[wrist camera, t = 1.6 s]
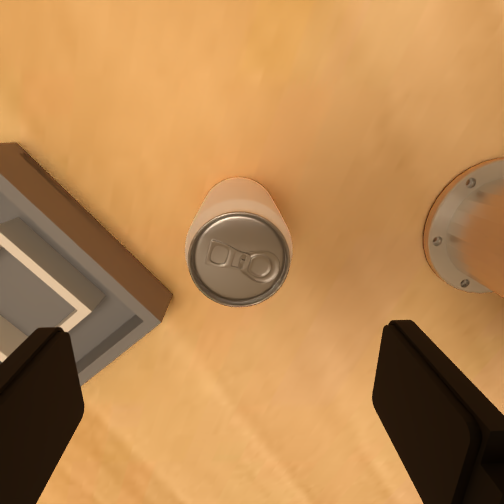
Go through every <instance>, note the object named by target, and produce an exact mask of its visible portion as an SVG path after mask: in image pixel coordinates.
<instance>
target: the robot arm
mask: <svg viewBox="0 0 504 504" xmlns="http://www.w3.org/2000/svg"><path fill="white" fill-rule="evenodd" d="M424 251H425V254H426V258H427V261H428V263H429V265H430V267H431V268H432V270H433V271H434V272H435V273H436V274H437V276H438V277H439V278H441V279H442V280H443V281H445V282H446V283H447V284H449V285H451V286H453V287H454V288H456V289H459V290H462V291H465V292H470V293H491V292H495V293H496V294H498V295H500V296H501V297H503V298H504V158H496V159H493V160H489V161H485V162H482V163H480V164H478V165H476V166H474V167H471V168H469V169H468V170H466V171H465V172H464V173H462V174H461V175H459V176H458V177H456V178H455V179H454V180H453V181H452V182H451V183H450V184H449V185H448V186H447V187H446V188H445V189H444V190H443V192H442V193H441V194H440V195H439V197H438V198H437V199H436V201H435V203H434V205H433V207H432V209H431V210H430V213H429V215H428V218H427V221H426V224H425V230H424ZM372 401H373V405H374V408H375V410H376V412H377V414H378V416H379V418H380V420H381V422H382V424H383V426H384V428H385V430H386V432H387V433H388V435H389V437H390V439H391V441H392V443H393V445H394V447H395V449H396V451H397V453H398V455H399V457H400V459H401V461H402V463H403V464H404V466H405V468H406V470H407V472H408V474H409V476H410V478H411V480H412V482H413V484H414V486H415V488H416V490H417V492H418V494H419V495H420V497H421V499H422V501H423V503H424V504H504V415H503V414H502V413H501V412H500V411H499V410H498V409H497V408H496V407H495V406H494V405H493V404H492V403H491V402H490V401H489V400H488V399H487V398H486V397H485V395H484V394H483V393H482V392H481V391H480V390H479V389H478V388H477V387H476V386H475V385H474V384H473V383H472V382H471V381H470V380H469V379H468V378H467V377H466V376H465V375H464V374H463V373H462V372H461V371H460V370H459V369H458V367H457V366H456V365H455V364H454V363H453V362H452V361H451V360H450V359H449V358H448V357H447V356H446V355H445V354H444V353H443V352H442V351H441V350H440V349H439V348H438V347H437V346H436V345H435V344H434V343H433V342H432V341H431V339H430V338H429V337H428V336H427V335H426V334H425V333H424V332H423V331H422V330H421V329H420V328H419V327H418V326H417V325H416V324H415V323H414V322H413V321H412V320H392V321H390V323H389V325H386V326H384V328H383V333H382V339H381V345H380V351H379V357H378V363H377V369H376V376H375V382H374V388H373V394H372ZM83 413H84V401H83V396H82V391H81V386H80V382H79V377H78V372H77V367H76V362H75V357H74V352H73V347H72V343H71V338H70V334H69V333H68V332H64V330H63V329H62V328H61V327H40V328H37V329H36V330H35V331H34V332H33V333H32V334H31V335H30V336H29V337H28V338H27V339H26V340H25V341H24V342H23V343H22V344H20V345H19V346H18V347H17V348H16V349H15V350H14V351H13V352H12V353H11V354H10V355H9V356H8V357H7V358H6V359H5V360H4V361H3V362H2V363H1V364H0V504H36V503H37V501H38V499H39V497H40V495H41V493H42V492H43V490H44V488H45V486H46V484H47V482H48V480H49V479H50V477H51V475H52V473H53V471H54V469H55V467H56V465H57V464H58V462H59V460H60V458H61V456H62V454H63V452H64V451H65V449H66V447H67V445H68V443H69V441H70V439H71V438H72V436H73V434H74V432H75V430H76V428H77V426H78V425H79V423H80V421H81V419H82V417H83Z"/></svg>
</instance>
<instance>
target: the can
mask: <svg viewBox="0 0 504 504" xmlns="http://www.w3.org/2000/svg"><path fill="white" fill-rule="evenodd" d="M292 254H293V246H292V239H291V235H290V232H289V229H288V227H287V225H286V223H285V221H284V219H283V217H282V215H281V213H280V211H279V210H278V208H277V206H276V204H275V202H274V201H273V199H272V197H271V196H270V194H269V193H268V191H267V190H266V189H265V188H264V187H263V186H262V185H260V184H259V183H257V182H255V181H253V180H251V179H248V178H242V177H235V178H229V179H226V180H223V181H221V182H220V183H218V184H216V185H215V186H214V187H213V188H212V189H211V190H210V191H209V193H208V194H207V195H206V197H205V199H204V201H203V202H202V204H201V206H200V208H199V210H198V212H197V214H196V216H195V218H194V220H193V222H192V224H191V226H190V228H189V231H188V234H187V237H186V243H185V257H186V262H187V266H188V268H189V272H190V275H191V277H192V280H193V281H194V283H195V285H196V286H197V288H198V289H199V290H200V291H201V292H202V293H203V294H204V295H205V296H207V297H208V298H209V299H211V300H213V301H215V302H217V303H219V304H222V305H225V306H230V307H247V306H252V305H256V304H259V303H261V302H263V301H265V300H267V299H268V298H270V297H271V296H272V295H274V294H275V293H276V292H277V291H278V290H279V288H280V287H281V286H282V284H283V283H284V281H285V279H286V277H287V274H288V271H289V267H290V264H291V261H292Z"/></svg>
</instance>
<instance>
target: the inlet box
mask: <svg viewBox="0 0 504 504" xmlns="http://www.w3.org/2000/svg"><path fill="white" fill-rule="evenodd" d="M172 295H173V294H172V293H171V292H170V291H169V290H168V289H166V288H165V287H164V286H163V285H162V284H161V283H160V282H159V281H158V280H157V279H156V278H155V277H154V276H153V275H152V274H151V273H150V272H149V271H148V270H147V269H146V268H145V267H144V266H143V265H142V264H141V263H140V262H139V261H138V260H137V259H136V258H135V257H133V256H132V255H131V254H130V253H129V252H128V251H127V250H126V249H125V248H124V247H123V246H122V245H121V244H120V243H119V242H118V241H117V240H116V239H115V238H114V237H113V236H112V235H111V234H110V233H109V232H108V231H107V230H106V229H105V228H104V227H103V226H102V225H100V224H99V223H98V222H97V221H96V220H95V219H94V218H93V217H92V216H91V215H90V214H89V213H88V212H87V211H86V210H85V209H84V208H83V207H82V206H81V205H80V204H79V203H78V202H77V201H76V200H75V199H74V198H73V197H72V196H71V195H70V194H69V193H68V192H66V191H65V190H64V189H63V188H62V187H61V186H60V185H59V184H58V183H57V182H56V181H55V180H54V179H53V178H52V177H51V176H50V175H49V174H48V173H47V172H46V171H45V170H44V169H43V168H42V167H41V166H40V165H39V164H38V163H37V162H36V161H35V160H33V159H32V158H31V157H30V156H29V155H28V154H27V153H26V152H25V151H24V150H23V149H22V148H21V147H20V146H19V145H18V144H17V143H0V364H1V363H2V362H3V361H4V360H5V359H6V358H7V357H8V356H9V355H10V354H11V353H12V352H13V351H14V350H15V349H16V348H17V347H18V346H19V345H20V344H22V343H23V342H24V341H25V340H26V339H27V338H28V337H29V336H30V335H31V334H32V333H33V332H34V331H35V330H36V329H37V328H40V327H61V328H62V329H63V330H64V332H68V333H69V334H70V338H71V343H72V347H73V352H74V357H75V362H76V367H77V372H78V377H79V382H80V386H82V385H83V384H84V383H86V382H87V381H88V380H89V379H91V378H92V377H93V376H94V375H96V374H97V373H98V372H99V371H101V370H102V369H103V368H104V367H106V366H107V365H108V364H110V363H111V362H112V361H113V360H115V359H116V358H117V357H118V356H120V355H121V354H122V353H123V352H125V351H126V350H127V349H128V348H130V347H131V346H132V345H134V344H135V343H136V342H137V341H139V340H140V339H141V338H142V337H144V336H145V335H146V334H147V333H149V332H150V331H151V330H152V329H154V328H155V327H156V326H157V325H159V324H160V323H161V322H162V320H163V317H164V315H165V312H166V310H167V307H168V305H169V303H170V300H171V298H172Z"/></svg>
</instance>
